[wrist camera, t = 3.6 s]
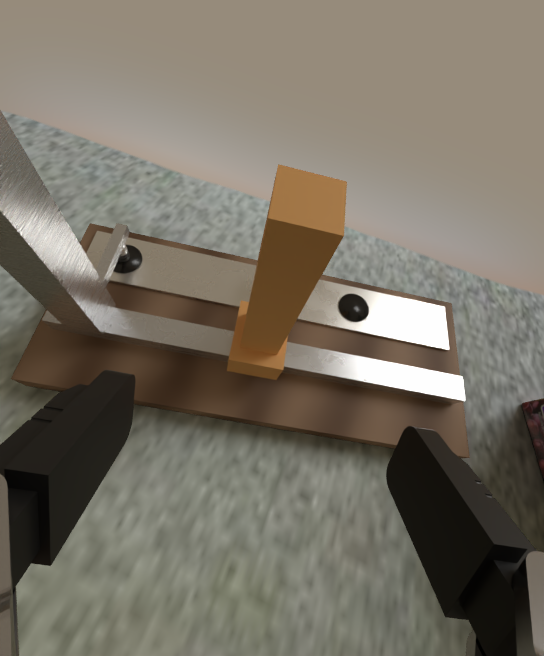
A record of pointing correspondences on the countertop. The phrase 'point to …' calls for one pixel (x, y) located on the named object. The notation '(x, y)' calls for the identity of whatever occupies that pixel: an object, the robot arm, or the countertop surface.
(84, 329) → the steel rail
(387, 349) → the wooden jig base
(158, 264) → the bolt hole plate
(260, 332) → the orange slider handle
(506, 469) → the countertop surface
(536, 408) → the snack box
